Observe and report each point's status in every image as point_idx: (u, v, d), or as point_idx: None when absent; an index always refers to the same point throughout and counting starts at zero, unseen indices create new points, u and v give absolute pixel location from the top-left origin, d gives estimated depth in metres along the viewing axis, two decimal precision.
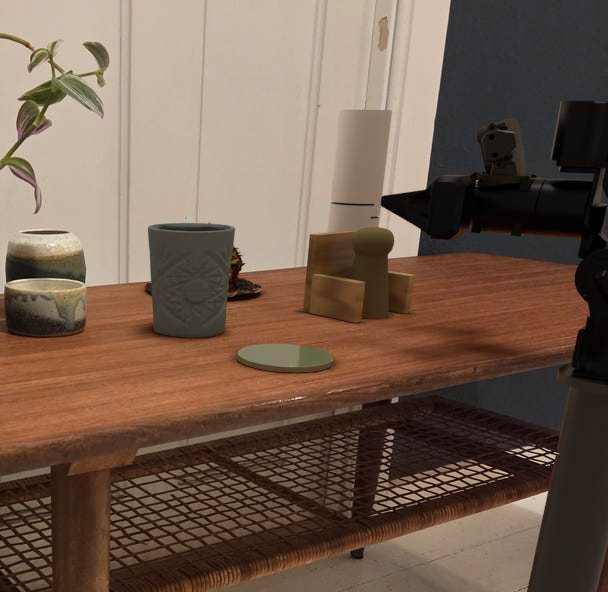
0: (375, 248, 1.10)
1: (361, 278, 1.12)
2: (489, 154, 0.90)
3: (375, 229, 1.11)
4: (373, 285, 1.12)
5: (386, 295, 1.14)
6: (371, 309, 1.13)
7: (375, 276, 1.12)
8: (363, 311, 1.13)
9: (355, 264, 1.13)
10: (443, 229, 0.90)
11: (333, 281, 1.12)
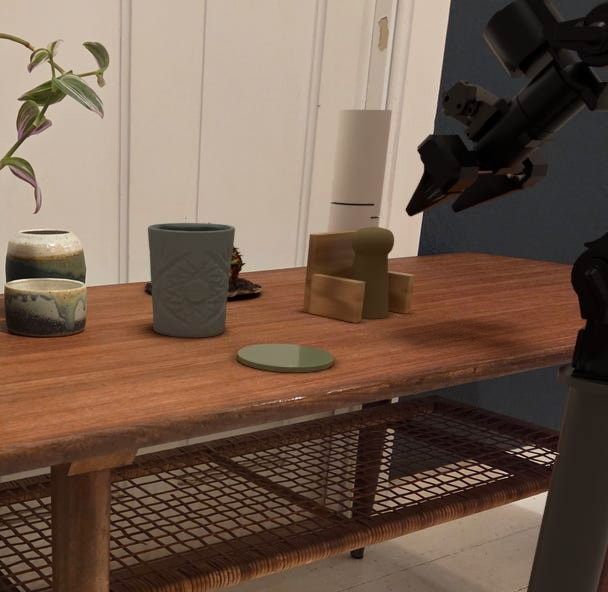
0: (375, 248, 1.10)
1: (361, 278, 1.12)
2: (454, 109, 0.96)
3: (375, 229, 1.11)
4: (373, 285, 1.12)
5: (386, 295, 1.14)
6: (371, 309, 1.13)
7: (375, 276, 1.12)
8: (363, 311, 1.13)
9: (355, 264, 1.13)
10: (447, 175, 0.93)
11: (333, 281, 1.12)
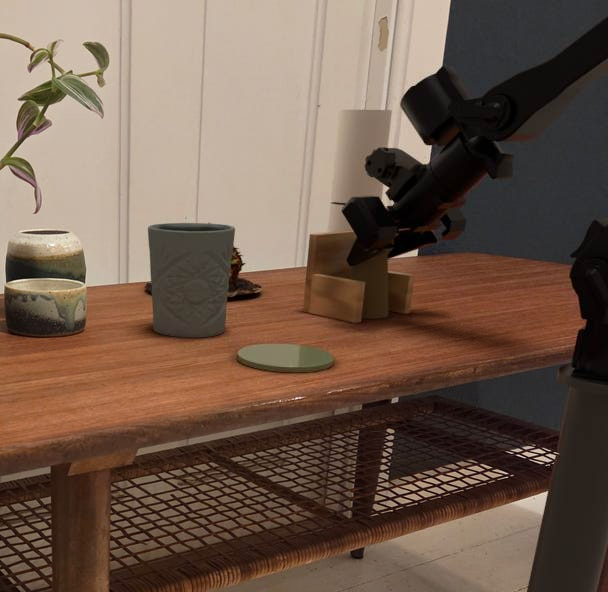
0: None
1: (361, 278, 1.12)
2: (376, 173, 1.05)
3: None
4: (373, 285, 1.12)
5: (386, 295, 1.14)
6: (371, 309, 1.13)
7: (375, 276, 1.12)
8: (363, 311, 1.13)
9: None
10: (367, 235, 1.02)
11: (333, 281, 1.12)
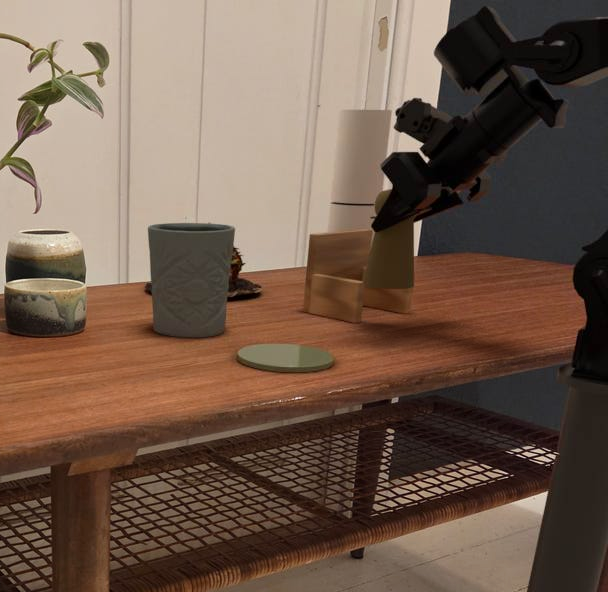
0: None
1: (388, 245, 1.03)
2: (411, 127, 0.95)
3: None
4: (402, 252, 1.03)
5: (413, 263, 1.04)
6: (400, 278, 1.03)
7: (403, 242, 1.02)
8: (392, 281, 1.04)
9: None
10: (415, 193, 0.92)
11: (333, 281, 1.12)
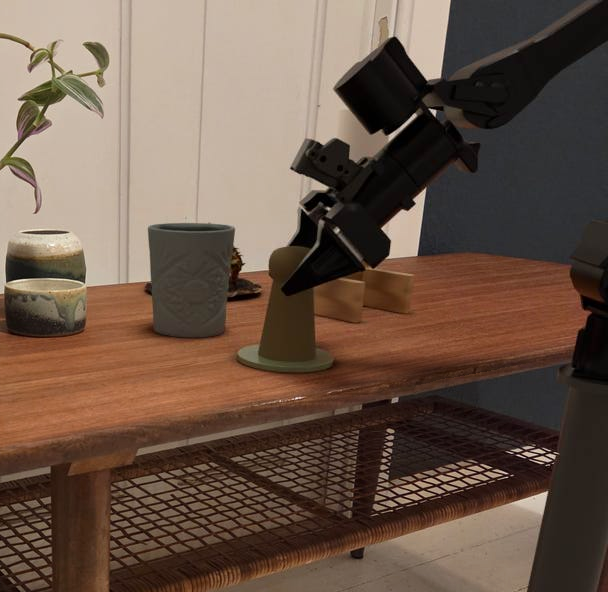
0: None
1: (300, 313, 0.88)
2: (334, 172, 0.82)
3: (305, 249, 0.87)
4: (311, 318, 0.90)
5: None
6: (312, 348, 0.90)
7: (312, 307, 0.89)
8: (306, 352, 0.90)
9: None
10: (379, 251, 0.79)
11: (333, 281, 1.12)
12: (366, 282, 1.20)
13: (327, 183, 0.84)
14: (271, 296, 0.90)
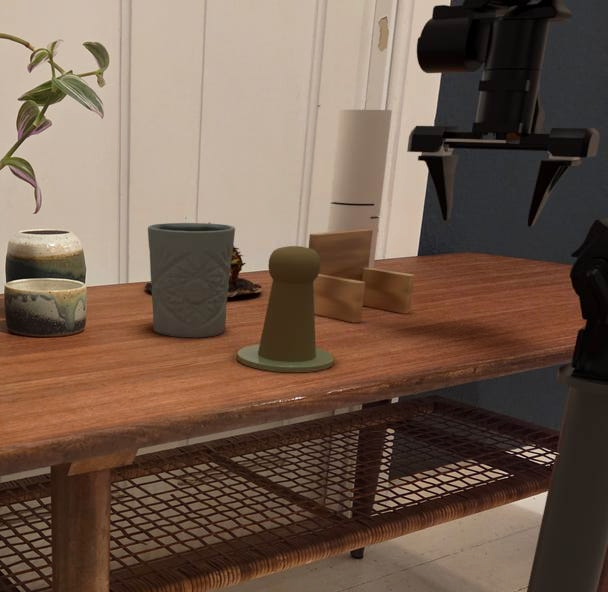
0: (314, 273, 0.88)
1: (300, 313, 0.88)
2: None
3: (305, 249, 0.87)
4: (311, 318, 0.90)
5: None
6: (312, 348, 0.90)
7: (312, 307, 0.89)
8: (306, 352, 0.90)
9: (287, 295, 0.88)
10: None
11: (333, 281, 1.12)
12: (366, 282, 1.20)
13: None
14: (271, 296, 0.90)
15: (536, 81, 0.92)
